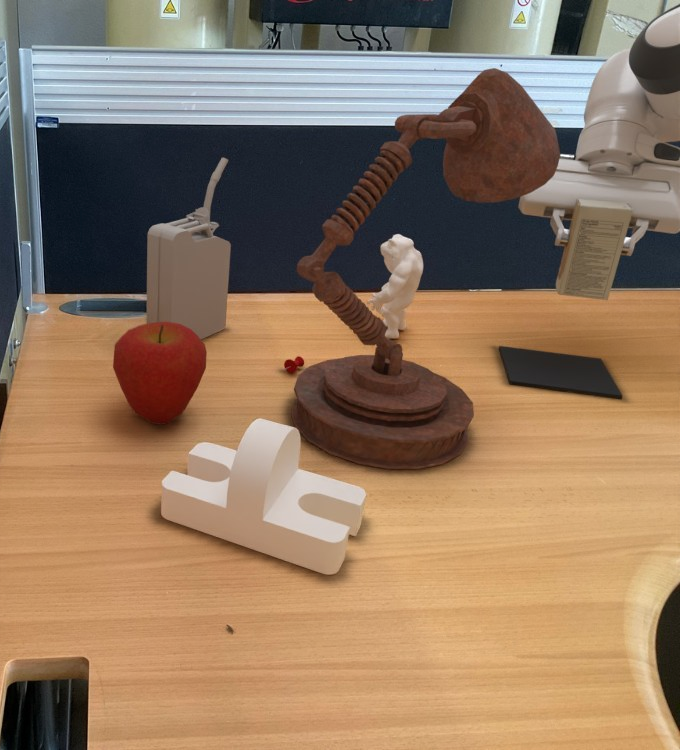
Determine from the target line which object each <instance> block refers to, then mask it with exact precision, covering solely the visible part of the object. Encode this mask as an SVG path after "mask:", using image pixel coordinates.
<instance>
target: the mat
mask: <svg viewBox="0 0 680 750" xmlns="http://www.w3.org/2000/svg"><path fill="white" fill-rule="evenodd" d="M498 351H499V354H500V357H501V358H500V359H501V361H502V364H503V367H504V371H505V374H506V376H507V381H508V384H509V385H516V386H523V387H531V388H537V389H545V390H554V391H558V392H559V391H561V392H568V393H575V394H582V395H583V394H584V395H590V396H597V397H603V398H605V397H607V398H613V399H620V400H621V399H622V398H623V394H622V393H621V390H620V389H619V387H618V385H617V383H616V382H615V380H614V378H613V377H612V375H611V374H610V372H609V370H608V368H607V367H606V365H605V363H604V362H603V359H602V358H599V357H592V356H585V355H584V356H583V355H575V354H569V353H568V354H567V353H559V352H551V351H542V350H536V349H528V348H520V347H519V348H518V347H511V346H504V345H503V346H502V345H499V346H498Z"/></svg>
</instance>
